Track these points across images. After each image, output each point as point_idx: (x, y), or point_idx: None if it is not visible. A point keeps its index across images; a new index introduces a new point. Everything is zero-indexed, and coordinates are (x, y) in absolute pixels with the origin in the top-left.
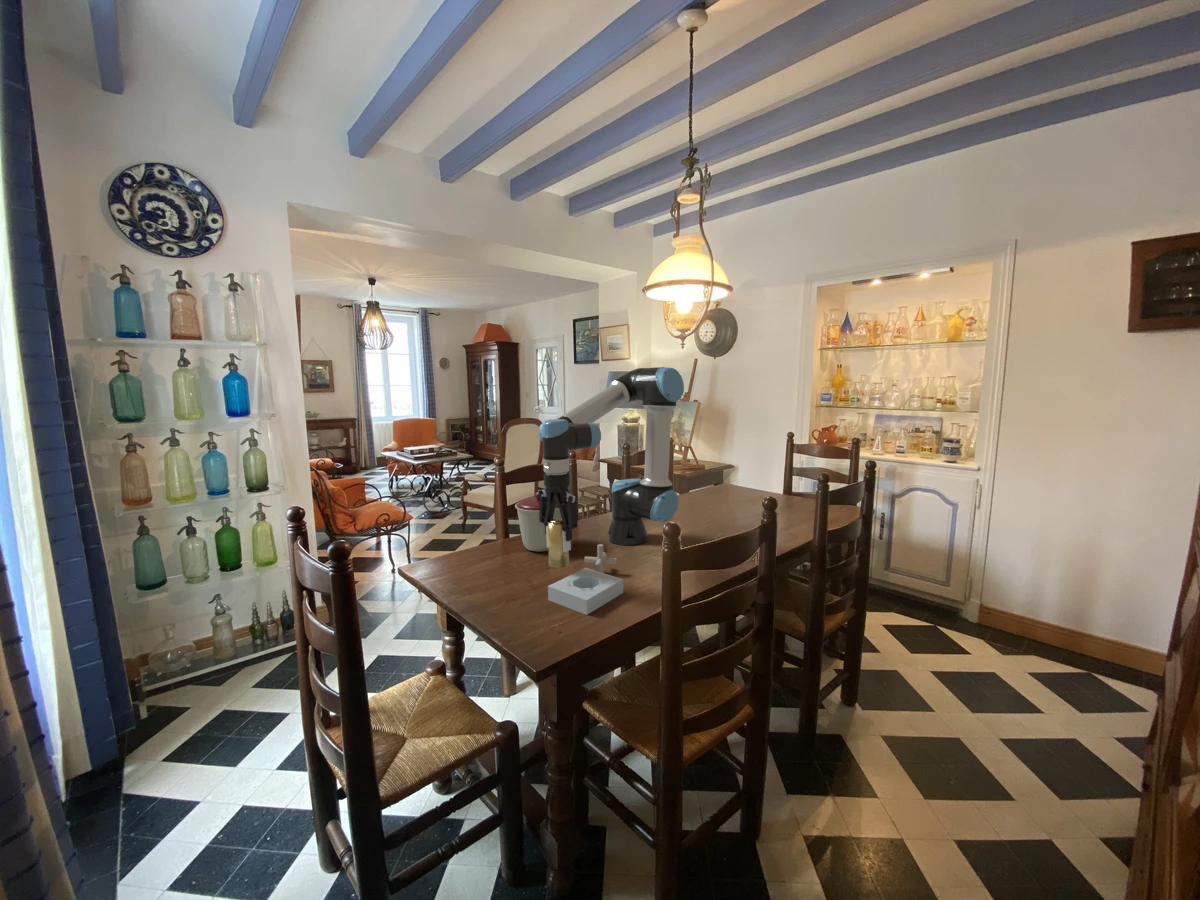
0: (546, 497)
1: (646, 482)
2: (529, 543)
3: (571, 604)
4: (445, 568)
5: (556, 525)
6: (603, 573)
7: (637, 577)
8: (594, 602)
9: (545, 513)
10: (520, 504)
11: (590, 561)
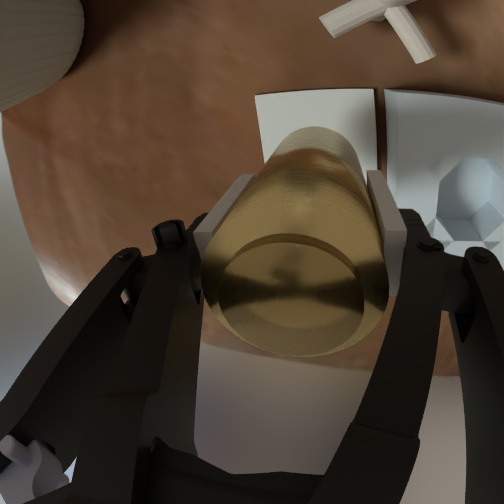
0: (37, 428)
1: None
2: (45, 87)
3: None
4: (70, 266)
5: (345, 347)
6: (483, 104)
7: None
8: None
9: (121, 314)
10: None
11: (358, 25)
